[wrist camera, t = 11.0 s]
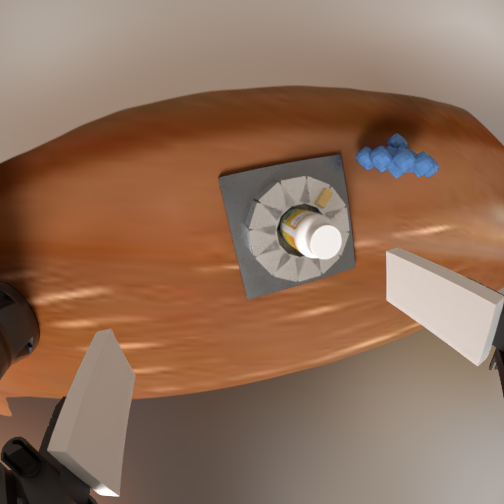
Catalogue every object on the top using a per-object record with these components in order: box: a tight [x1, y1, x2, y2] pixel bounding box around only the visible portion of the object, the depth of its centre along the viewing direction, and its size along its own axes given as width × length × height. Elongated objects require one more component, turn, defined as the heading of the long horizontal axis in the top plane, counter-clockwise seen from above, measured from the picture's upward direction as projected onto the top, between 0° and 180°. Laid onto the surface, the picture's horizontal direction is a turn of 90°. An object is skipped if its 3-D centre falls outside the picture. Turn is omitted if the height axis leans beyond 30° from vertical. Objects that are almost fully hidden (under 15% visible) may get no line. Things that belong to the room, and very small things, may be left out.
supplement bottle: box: [280, 208, 342, 259], centre depth 34 cm, size 5×5×10 cm
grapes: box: [356, 133, 439, 178], centre depth 34 cm, size 12×7×12 cm, turn 88°
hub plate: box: [218, 155, 355, 300], centre depth 38 cm, size 18×18×5 cm
